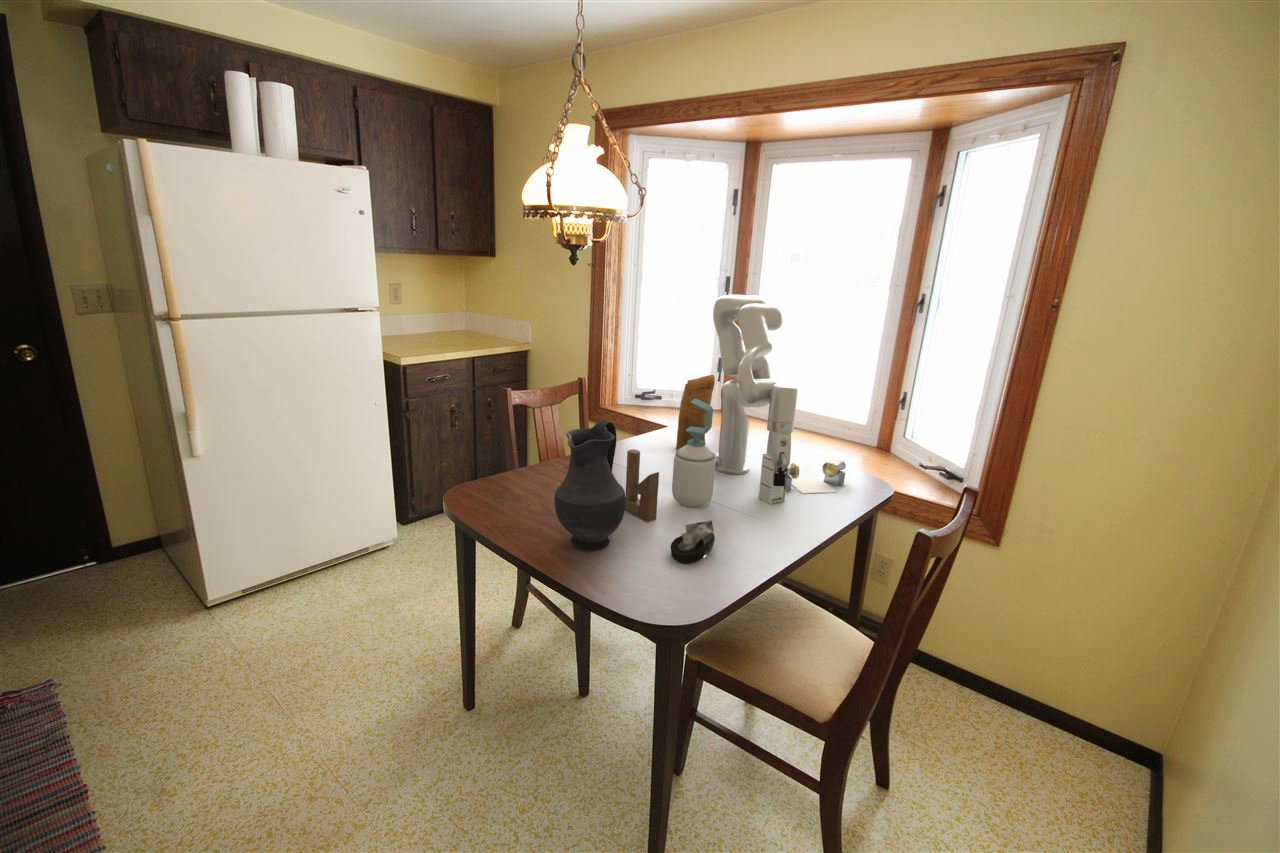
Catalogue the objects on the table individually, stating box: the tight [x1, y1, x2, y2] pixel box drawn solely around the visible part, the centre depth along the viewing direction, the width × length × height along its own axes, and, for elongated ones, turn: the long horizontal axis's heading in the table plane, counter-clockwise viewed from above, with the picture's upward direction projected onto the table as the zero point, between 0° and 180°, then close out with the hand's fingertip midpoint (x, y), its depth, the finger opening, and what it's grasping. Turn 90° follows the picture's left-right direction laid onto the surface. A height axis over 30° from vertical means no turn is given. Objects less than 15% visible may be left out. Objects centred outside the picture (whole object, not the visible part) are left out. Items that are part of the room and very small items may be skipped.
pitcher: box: [554, 419, 626, 552], centre depth 137 cm, size 17×21×30 cm
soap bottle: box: [671, 399, 716, 509], centre depth 162 cm, size 12×12×31 cm
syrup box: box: [758, 453, 788, 505], centre depth 169 cm, size 6×6×14 cm
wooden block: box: [625, 449, 660, 523], centre depth 154 cm, size 4×11×18 cm, turn 42°
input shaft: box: [786, 462, 800, 491], centre depth 180 cm, size 8×5×8 cm, turn 101°
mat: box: [791, 477, 837, 495], centre depth 183 cm, size 12×12×1 cm
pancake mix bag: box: [675, 374, 716, 450], centre depth 213 cm, size 7×19×28 cm, turn 131°
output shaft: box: [821, 460, 847, 487], centre depth 185 cm, size 8×5×8 cm, turn 131°
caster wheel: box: [669, 520, 716, 565], centre depth 135 cm, size 7×11×10 cm
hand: (774, 479), depth 168 cm, fingers open, 9 cm apart
